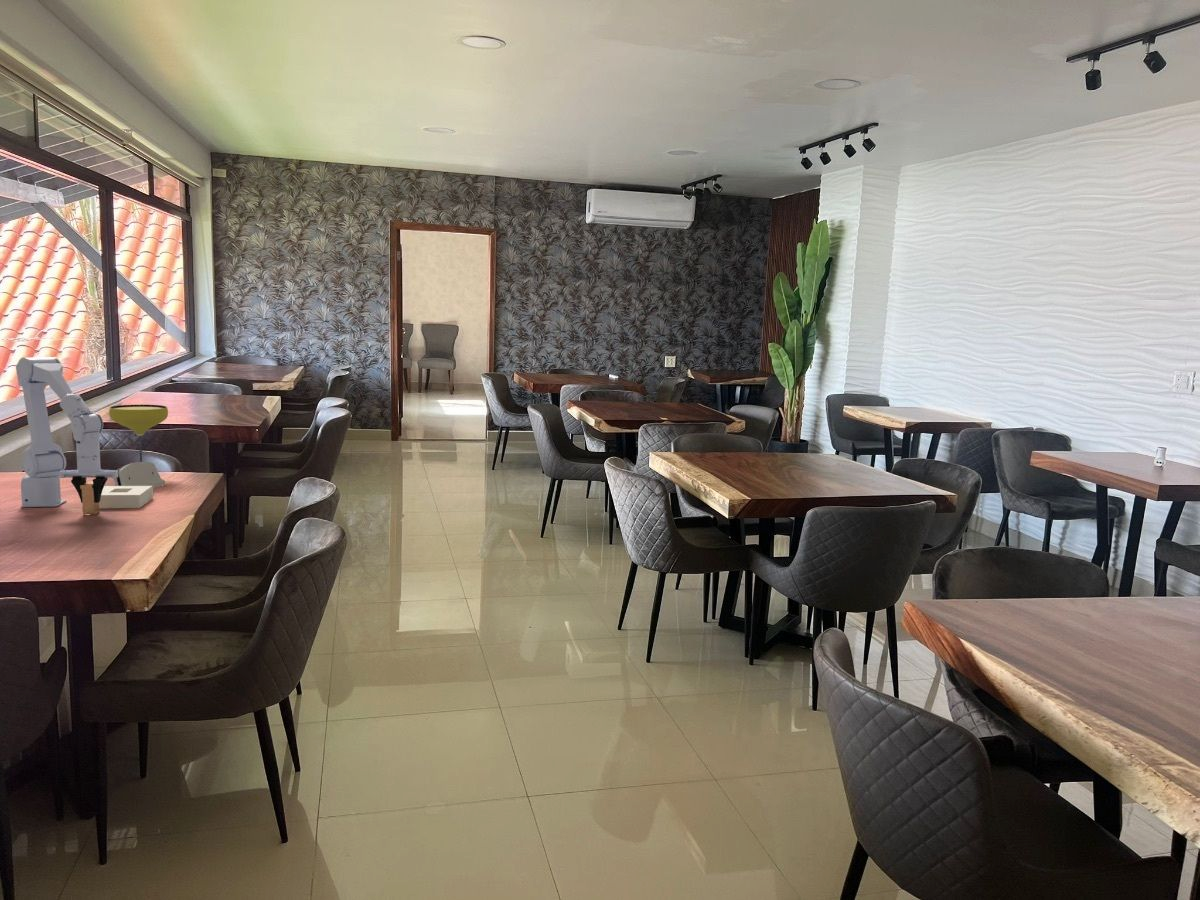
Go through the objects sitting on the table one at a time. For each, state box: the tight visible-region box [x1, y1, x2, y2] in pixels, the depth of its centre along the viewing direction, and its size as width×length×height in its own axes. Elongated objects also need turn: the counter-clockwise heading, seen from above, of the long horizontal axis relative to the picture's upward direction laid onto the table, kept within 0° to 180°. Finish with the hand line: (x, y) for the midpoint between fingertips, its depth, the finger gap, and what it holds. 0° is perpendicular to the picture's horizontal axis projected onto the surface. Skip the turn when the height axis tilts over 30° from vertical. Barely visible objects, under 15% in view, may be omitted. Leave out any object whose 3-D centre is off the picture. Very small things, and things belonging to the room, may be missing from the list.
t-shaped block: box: [80, 480, 100, 515], centre depth 242 cm, size 3×6×9 cm, turn 13°
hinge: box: [113, 461, 167, 489], centre depth 278 cm, size 17×5×10 cm, turn 168°
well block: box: [99, 485, 154, 509], centre depth 257 cm, size 14×14×4 cm
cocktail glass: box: [109, 404, 169, 462], centre depth 296 cm, size 18×18×25 cm
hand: (90, 502), depth 242 cm, fingers closed on t-shaped block, 3 cm apart
